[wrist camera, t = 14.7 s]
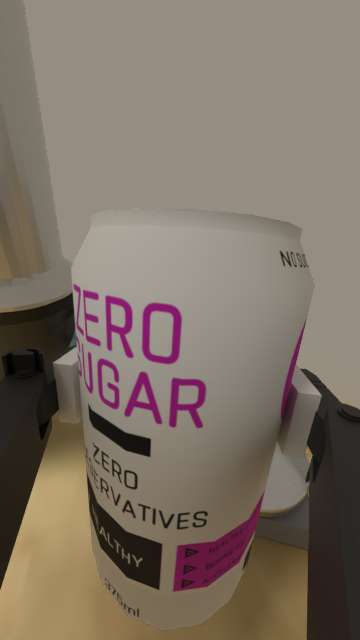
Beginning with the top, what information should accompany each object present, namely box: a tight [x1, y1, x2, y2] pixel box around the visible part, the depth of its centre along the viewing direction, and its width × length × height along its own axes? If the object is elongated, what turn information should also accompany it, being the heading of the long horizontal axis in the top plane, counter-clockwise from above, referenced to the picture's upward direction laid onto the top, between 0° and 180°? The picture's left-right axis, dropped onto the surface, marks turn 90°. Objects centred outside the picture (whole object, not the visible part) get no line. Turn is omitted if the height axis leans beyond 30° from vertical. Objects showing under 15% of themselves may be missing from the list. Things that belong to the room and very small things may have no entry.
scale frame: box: [254, 493, 309, 550], centre depth 28 cm, size 13×13×3 cm
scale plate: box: [259, 442, 310, 517], centre depth 27 cm, size 14×14×4 cm
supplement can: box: [71, 208, 315, 631], centre depth 10 cm, size 8×8×15 cm
